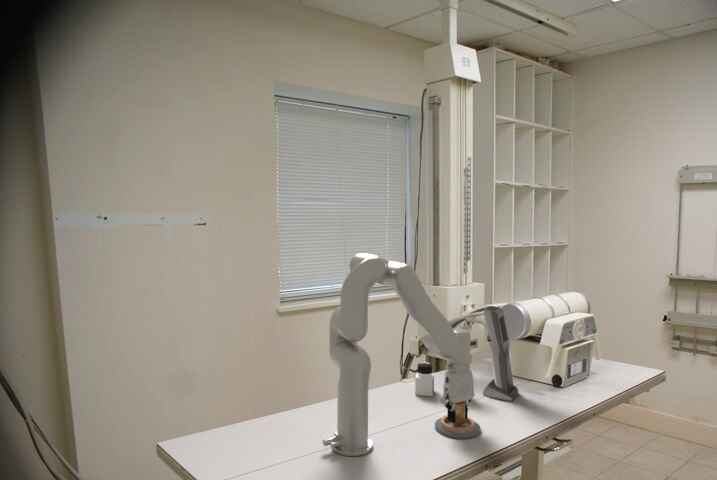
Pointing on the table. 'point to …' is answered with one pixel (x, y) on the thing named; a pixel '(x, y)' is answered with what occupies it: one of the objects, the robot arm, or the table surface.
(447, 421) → the ring tray
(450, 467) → the table surface
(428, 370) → the medicine bottle
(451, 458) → the table surface
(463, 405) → the wooden bead
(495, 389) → the thermal camera
